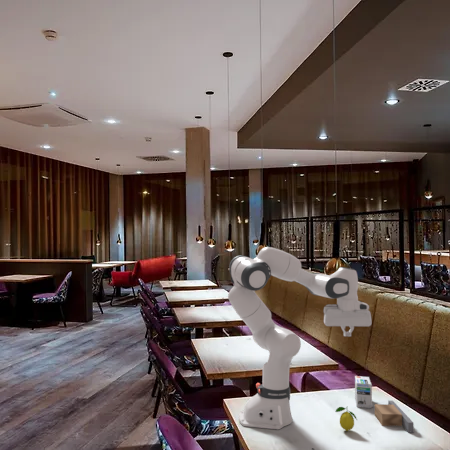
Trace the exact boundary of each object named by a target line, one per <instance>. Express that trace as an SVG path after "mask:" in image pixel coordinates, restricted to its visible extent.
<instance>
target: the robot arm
mask: <svg viewBox="0 0 450 450" xmlns="http://www.w3.org/2000/svg"><path fill="white" fill-rule="evenodd" d="M228 269H229V271H228V272H229V274H230V281H231V283H232V284H233V287H232V288H230V290H229V292H228V295H227V298H228V301H229V303H230V305H231V307H232V308H233V310H234V311H235V312H236V315H238V317H240V319H241V320H242V321H243V323H245V325H246V326H247V328H249V330H250V332H251V333H252V339H253V341H254V342H255V343H256V345H258V346H259V348H261V349H264V350H266V351H268V353H269V355H268V359H267V362H265V363H263V366H262V381H261V382H262V384H261V383H260V382H257V383H256V384H255V387H256V389H257V393H256V394H255V395H253V396H251V397H250V398H249V399H247V401H246V402H245V404H244V408H243V409H242V410H241V411H240V412H239V414H238V422H239V423H240V425H242V427H243V426H244V427H251V428H260V429H261V428H262V429H272V430H281V429H282V428H284V427H286V426H289V425H290V424H292V423H293V421H294V420H293V419H294V418H293V415H292V411H291V406H290V404H291V403H290V400H291V387H290V369H291V363H292V360H293V358H294V357H295V356H296V355H298V353H299V352H300V349H301V345H302V343H301V339H300V336H299V335H297V334H296V333H295V332H293V331H292V330H290V329H288V328H285V327H282V326H281V325H278V324H276V323H275V322H274V320H273V318H272V312H271V310H270V309H269V307H267V305H266V304H265V303H264V301H263V300H262V299H261V298H260V297H259V295H257V293H256V291H260V290H262V289H263V288H264V287H265V286H266V284H267V283H268V282H269V279H270V278H271V277H274V278H277V279H279V280H283V281H286V282H291V283H292V282H295V283H298V284H300V285H302V286H304V287H305V288H306V289H307V291H308V292H309V293H310V294H311V295H314V296H317V297H318V296H319V297H323V298H328V299H332V300H333V299H336V304H330V303H329V304H326V305H324V307H323V323H324V325H325V326H326V327H340V328H341V330H342V332H343V337H352V333H353V331H354V329H355V327H371V326H372V314H371V311H370V305H369V304H368V303H366V302H363V301H361V300H359V297H358V291H359V279H358V278H359V277H358V272H357V270H355V269H354V268H350V267H344V266H339V268H338V269H337V270H336V271H335V272H334V273H330V274H329V275H328V274H323V273H321V272H313V273H312V272H309V271H308V270H305V269H303V268H302V262H301V260H300V259H299V258H297V257H296V256H295V255H293V254H291V253H289V252H286V251H285V250H281V249H279V248H275V247H271V246H266V247H262V248H261V249H260V250H259V252H258V254H257V256H256V257H254V258H251V257H249V256H247V255H237V256H234V257H233V258H232V259H231V260H230V262H229V266H228ZM346 327H349V328H350V329H349V330H348V331H346Z"/></svg>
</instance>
